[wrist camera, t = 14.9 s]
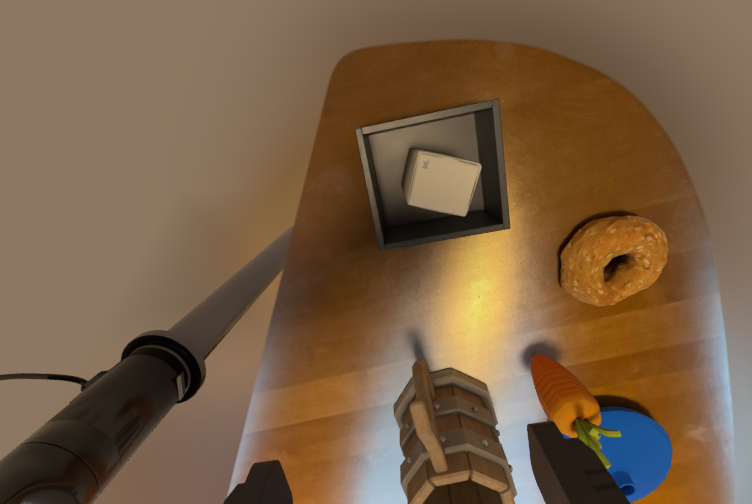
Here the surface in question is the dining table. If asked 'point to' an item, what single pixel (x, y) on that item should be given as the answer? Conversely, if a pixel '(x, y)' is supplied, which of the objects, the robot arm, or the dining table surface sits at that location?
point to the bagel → (596, 249)
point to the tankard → (451, 441)
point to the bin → (445, 136)
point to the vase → (635, 451)
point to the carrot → (569, 403)
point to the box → (439, 181)
